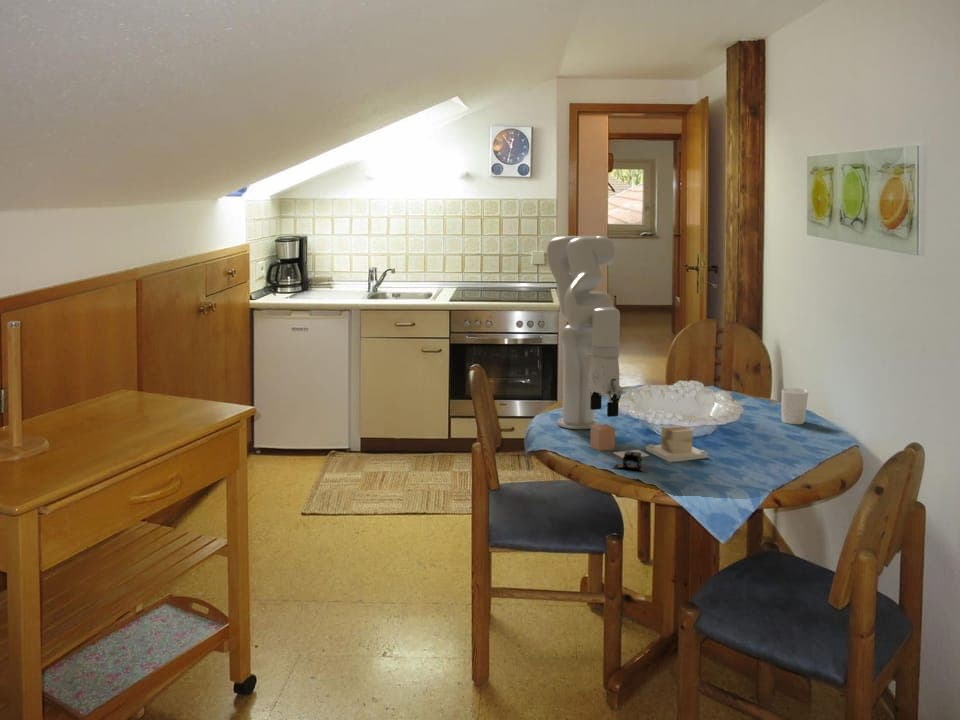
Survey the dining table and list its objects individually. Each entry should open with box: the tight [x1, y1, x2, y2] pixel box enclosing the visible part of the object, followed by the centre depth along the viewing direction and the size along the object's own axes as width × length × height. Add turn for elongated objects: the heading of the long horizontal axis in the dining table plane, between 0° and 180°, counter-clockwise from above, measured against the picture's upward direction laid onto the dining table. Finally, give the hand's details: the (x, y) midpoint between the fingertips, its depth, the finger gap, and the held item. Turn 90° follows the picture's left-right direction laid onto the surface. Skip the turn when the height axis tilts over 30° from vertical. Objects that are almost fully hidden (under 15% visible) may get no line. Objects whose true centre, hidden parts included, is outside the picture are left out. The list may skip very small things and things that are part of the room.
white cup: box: [780, 387, 809, 425], centre depth 297 cm, size 8×8×10 cm
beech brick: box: [660, 424, 694, 454], centre depth 262 cm, size 6×6×6 cm
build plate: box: [645, 444, 708, 463], centre depth 262 cm, size 12×12×2 cm
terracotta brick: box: [589, 423, 616, 452], centre depth 268 cm, size 5×5×6 cm
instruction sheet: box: [612, 449, 650, 459], centre depth 262 cm, size 6×8×1 cm
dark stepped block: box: [612, 450, 653, 474], centre depth 249 cm, size 12×7×5 cm, turn 65°
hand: (604, 412), depth 266 cm, fingers open, 9 cm apart
